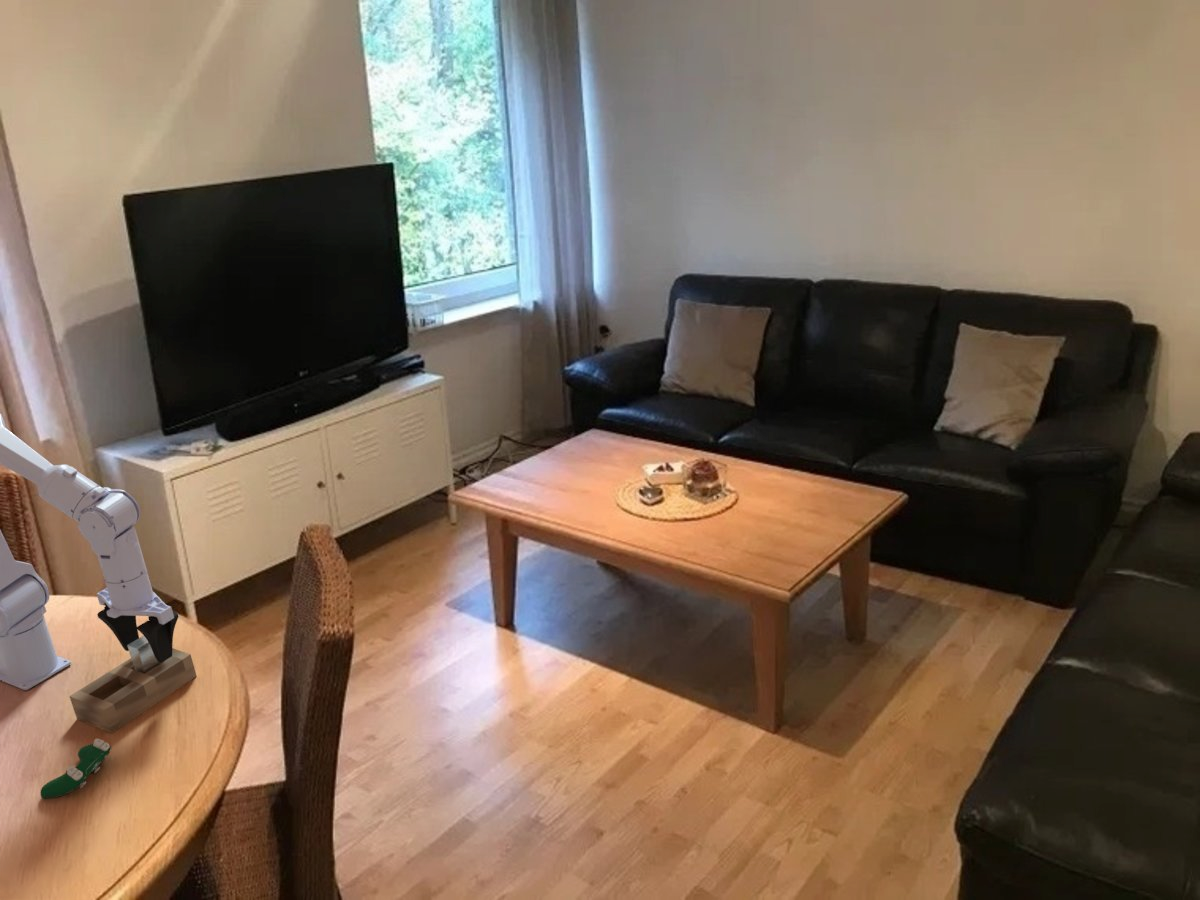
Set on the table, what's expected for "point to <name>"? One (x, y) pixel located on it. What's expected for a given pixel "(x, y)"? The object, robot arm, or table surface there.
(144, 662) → the white rectangular pillar
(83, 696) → the tan divided tray
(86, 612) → the table surface
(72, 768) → the green elongated piece
